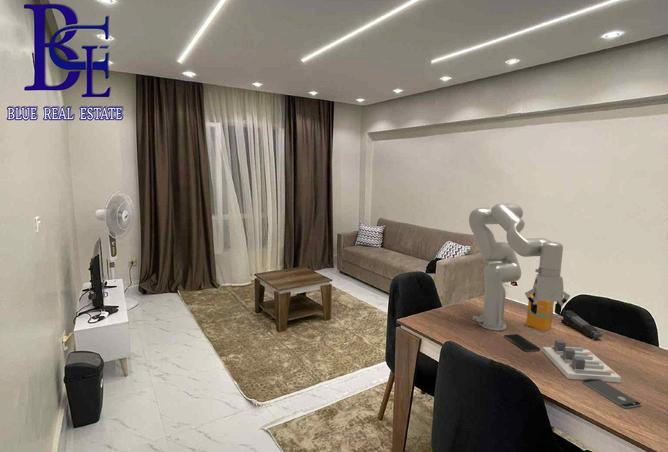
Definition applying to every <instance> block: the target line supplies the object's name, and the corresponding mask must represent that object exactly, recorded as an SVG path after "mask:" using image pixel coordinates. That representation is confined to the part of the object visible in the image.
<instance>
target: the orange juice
mask: <svg viewBox="0 0 668 452" xmlns="http://www.w3.org/2000/svg"><path fill="white" fill-rule="evenodd" d="M533 287H534V284H533V286H532V288H531V290H532V289H533ZM530 296H531V298H533V297H534V296H533V294H531V295H530ZM536 305H537V313H536V314H534V313H533V312H532V311H531V302H530V301H529V300H528V305H527V313H526V326H529V327H532V328H534V329H537V330H541V331H544V332H546V331H547V330H549V329H551V328H552V322H553V315H554V307H555V301H540V300H539V301H538V302H537V303H536Z"/></svg>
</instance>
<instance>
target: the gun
mask: <svg viewBox="0 0 668 452" xmlns="http://www.w3.org/2000/svg"><path fill="white" fill-rule="evenodd" d="M561 316H562V318H563V319H561V320H560V322H561V323H562V324H564V323H565V324H568V325H569V327H572V328H573V329H576V330H579V331H580V332H582V333H583V334H584V335H585V336H587V337H590V338H591V339H592V340H599V339H600V338H602V337H603V335H604V334H603V333H602V332H601V331H599V329H598V328H596V327H595V326H593V325H592V324H589V322H588V321H585V320H584V319H583V318H581V317H580V316H579V315H578V314H577V313H576V312H574V311H573V310H568V309H567V310H563V311H561Z"/></svg>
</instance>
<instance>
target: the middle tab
mask: <svg viewBox="0 0 668 452" xmlns="http://www.w3.org/2000/svg"><path fill="white" fill-rule="evenodd" d="M573 357H575V351H574V350H573V349H572V348H563V357H562V358H563V359H564V360H565V359H569V360H573Z"/></svg>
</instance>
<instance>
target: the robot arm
mask: <svg viewBox="0 0 668 452" xmlns="http://www.w3.org/2000/svg"><path fill="white" fill-rule="evenodd" d="M523 215H524V211H523V208H522V206H520V205H519V204H516V203H498V204H495V205H493V206H492V207H478V208H475V209H473V210H472V211H471V212H470V213H469V215H468V216H469V217H468V223H469V227H470V230H471V232H472V234H473V236H474V237H475V238H474V239H475V240H476V244H477V247H478V250H479V252H480V256H481V258H482V260H483V261H484V262H487V263H489V262H490V264H488V265H486V266H485V267H484V269H483V278H484V297H483V308H482V309H483V310H482V313H481V314H480V315H479V316H476V315H473V316H472V320H473V321H476V322H478V324H479V325H480V327H482V328H484V329H487V330H490V331H496V332H497V331H505V330H506V329H507V325H508V324H507V323H505V322H504V319H505V307H506V298H507V297H506V295H507V293H506V288H505V287H504V283H513V282H518V281H519V280H520V278H521V277H522V268H521V266H520V263H519V261H518V258H517V255H519V256H520V257H523V258H527V257H528V258H529V257H539V265H538V268H536V269H535V271H534V272H535V273H537V274H536V276H535V279H534V283H533V285H534V287H533V286H532V288H533V289H532V288H531V289H529V290H527V291H525V292H524V295H525V296H526V298H527V300H528V302H529V301H530V302H531V311H532V312H533V313H534V314H536V313H537V305H536V303H537V302H538V301H539V300H540V301H554V302H556V303H554V313H555V314H556V315H557V316H560V315H561V314H562V308H563V306H564V304H566V303H567V302H568V300H569V299H570V298H571V295H570V294H569V293H567V292H565V291H564V280H563V276H561V272H562V260H563V251H564V246H563V244H562V243H561V242H557V241H551V240H549V239H547V238H544V237H543V238H542V237H541V238H540V237H539V238H537V237H536V238H524V237H523V236H522V235H521V234H520V233H521V232H522V230H523V229H524V228H525V226H526V225H525V221H524V220H523V218H522V217H523ZM486 225H499V226H500V227H501V228H502V229H503V230H504V231H505V232H506V241H507V242H505V241H500V242H499V241H498V242H497V241H496V239H495V236H494V234H493V232H492V230H491V229H490V228H488V226H486ZM516 254H517V255H516ZM491 262H493V263H491ZM531 294H533V296H534V297H533V298H531V296H530V295H531Z"/></svg>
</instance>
